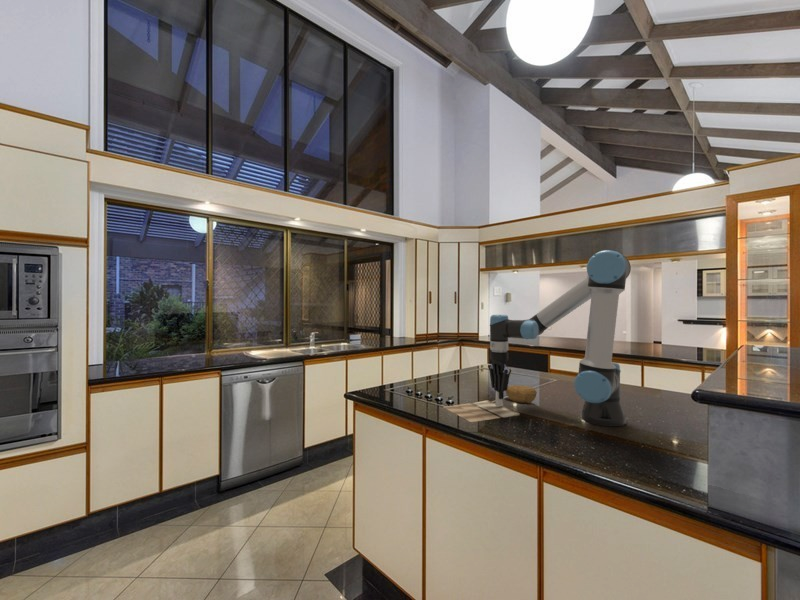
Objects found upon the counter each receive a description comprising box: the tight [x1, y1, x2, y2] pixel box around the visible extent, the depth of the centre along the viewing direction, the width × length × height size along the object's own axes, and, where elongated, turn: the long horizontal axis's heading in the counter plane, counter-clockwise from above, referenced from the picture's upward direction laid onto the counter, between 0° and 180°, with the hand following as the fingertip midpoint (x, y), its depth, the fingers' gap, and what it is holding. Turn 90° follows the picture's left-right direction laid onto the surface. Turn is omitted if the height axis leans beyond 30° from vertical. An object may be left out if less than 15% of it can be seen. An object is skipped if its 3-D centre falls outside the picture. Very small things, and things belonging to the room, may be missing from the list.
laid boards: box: [442, 403, 501, 423], centre depth 152 cm, size 22×14×1 cm, turn 22°
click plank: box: [471, 399, 520, 418], centre depth 157 cm, size 22×8×1 cm, turn 22°
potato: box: [505, 384, 537, 404], centre depth 169 cm, size 10×14×8 cm
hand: (499, 406), depth 158 cm, fingers closed
